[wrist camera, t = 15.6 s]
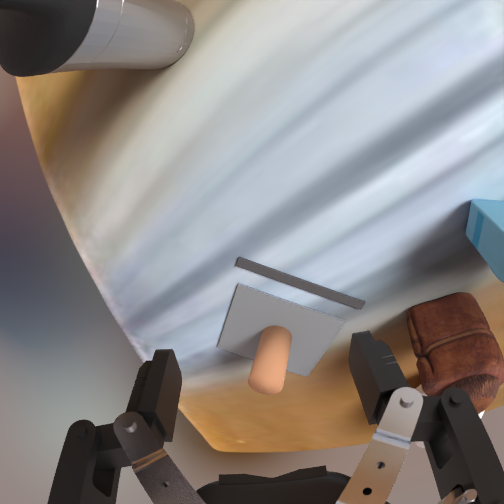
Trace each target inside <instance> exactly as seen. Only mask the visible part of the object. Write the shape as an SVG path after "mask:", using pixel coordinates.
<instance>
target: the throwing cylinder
mask: <svg viewBox="0 0 504 504" xmlns="http://www.w3.org/2000/svg"><path fill="white" fill-rule="evenodd" d="M291 341H292V335H291V333H290V332H289V331H288V330H287V329H286V328H284V327H281V326H269V327H266V328H265V329H264V330H263V332H262V335H261V338H260V342H259V345H258V349H257V352H256V355H255V359H254V362H253V366H252V369H251V372H250V376H249V379H248V384H249V386H250V387H251V388H252V389H253V390H255V391H257V392H259V393H263V394H275V393H278V392H280V391H281V390H282V388H283V383H284V378H285V373H286V368H287V363H288V357H289V352H290V347H291Z"/></svg>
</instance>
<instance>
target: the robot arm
mask: <svg viewBox="0 0 504 504" xmlns="http://www.w3.org/2000/svg"><path fill="white" fill-rule="evenodd" d="M193 34H194V22H193V18H192V15H191V13H190V12H189V10H188V9H187V8H186V7H185V6H184V5H182V4H181V3H179V2H177V1H175V0H0V65H1V66H2V68H3V69H4V70H5V71H6V72H7V73H9V74H11V75H13V76H18V77H26V76H35V75H42V74H48V73H57V72H68V71H78V70H97V69H160V68H164V67H167V66H169V65H171V64H173V63H174V62H176V61H177V60H178V59H180V58H181V56H182V55H183V54H184V53H185V52H186V50H187V49H188V47H189V46H190V43H191V41H192V38H193ZM349 367H350V371H351V374H352V376H353V379H354V382H355V385H356V388H357V390H358V393H359V396H360V399H361V402H362V405H363V408H364V411H365V414H366V417H367V419H368V422H369V425H371V424H376V423H377V425H378V428H377V430H376V432H375V433H374V435H373V437H372V439H371V441H370V443H369V445H368V447H367V449H366V451H365V453H364V455H363V457H362V459H361V461H360V462H359V464H358V466H357V468H356V470H355V472H354V473H353V475H352V477H349V476H346V475H344V474H341V473H337V472H329V471H327V470H326V466H319V467H313V468H306V469H299V470H296V471H294V472H290V473H287V474H284V475H281V476H278V477H275V478H267V477H261V476H254V475H248V474H232V475H231V474H230V475H229V474H228V475H219V481H215V482H212V483H209V484H207V485H205V486H203V487H201V488H200V489H198V490H197V491H195V490H194V488H193V487H192V486H191V485H190V484H189V482H188V481H187V480H186V478H185V477H184V476H183V475H182V473H181V472H180V470H179V469H178V468H177V466H176V465H175V464H174V463H173V461H172V459H171V458H170V457H169V455H168V454H167V452H166V451H165V450H164V449H163V445H164V442H165V441H166V442H172V439H173V433H174V427H175V420H176V415H177V409H178V403H179V397H180V391H181V386H182V376H181V371H180V368H179V365H178V362H177V360H176V357H175V354H174V351H173V350H172V349H160V350H156V351H155V353H154V356H153V360H152V361H145V363H144V364H143V365H142V366H141V367H140V368H139V371H138V374H137V379H136V381H135V384H134V385H135V386H134V387H133V390H132V394H131V397H130V400H129V403H128V406H127V409H126V412H125V413H123V414H121V415H119V416H118V417H117V418H116V420H115V422H114V423H111V424H106V425H101V426H94V424H93V423H92V422H91V421H88V420H79V421H76V422H75V423H73V424H72V425H71V426H70V428H69V430H68V433H67V436H66V439H65V442H64V445H63V449H62V452H61V455H60V459H59V462H58V466H57V469H56V473H55V476H54V480H53V484H52V488H51V492H50V496H49V500H48V504H116V497H117V490H118V483H119V477H120V471H121V467H127V466H132V469H133V471H134V472H135V474H136V476H137V478H138V479H139V481H140V483H141V484H142V486H143V487H144V489H145V491H146V492H147V494H148V495H149V497H150V498H151V500H152V501H153V503H154V504H390V503H388V502H387V501H386V500H387V498H388V496H389V494H390V492H391V490H392V487H393V485H394V483H395V481H396V478H397V476H398V474H399V472H400V469H401V467H402V465H403V462H404V460H405V457H406V455H407V452H408V450H409V447H410V444H411V442H412V441H413V442H415V441H423V443H424V446H425V449H426V452H427V455H428V458H429V461H430V464H431V467H432V471H433V474H434V477H435V480H436V484H437V487H438V491H439V494H440V498H441V501H440V502H439V503H438V504H504V471H503V469H502V466H501V463H500V461H499V459H498V456H497V454H496V452H495V449H494V447H493V445H492V443H491V440H490V438H489V436H488V434H487V432H486V430H485V427H484V425H483V423H482V421H481V419H480V417H479V415H478V413H477V411H476V409H475V407H474V405H473V403H472V401H471V399H470V397H469V395H468V394H467V393H466V392H465V391H464V390H463V389H460V388H456V387H452V388H448V389H447V390H445V391H444V392H443V394H442V396H423V395H421V394H420V392H419V391H417V390H416V389H413V388H410V386H409V385H408V383H407V381H406V379H405V377H404V375H403V373H402V371H401V369H400V367H399V365H398V363H397V361H396V359H395V357H394V356H393V353H392V351H391V350H390V348H389V346H388V345H386V344H385V343H384V342H383V341H382V340H377V341H375V340H374V338H373V336H372V334H371V333H370V331H364V332H358V333H353V334H352V339H351V346H350V353H349Z"/></svg>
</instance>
